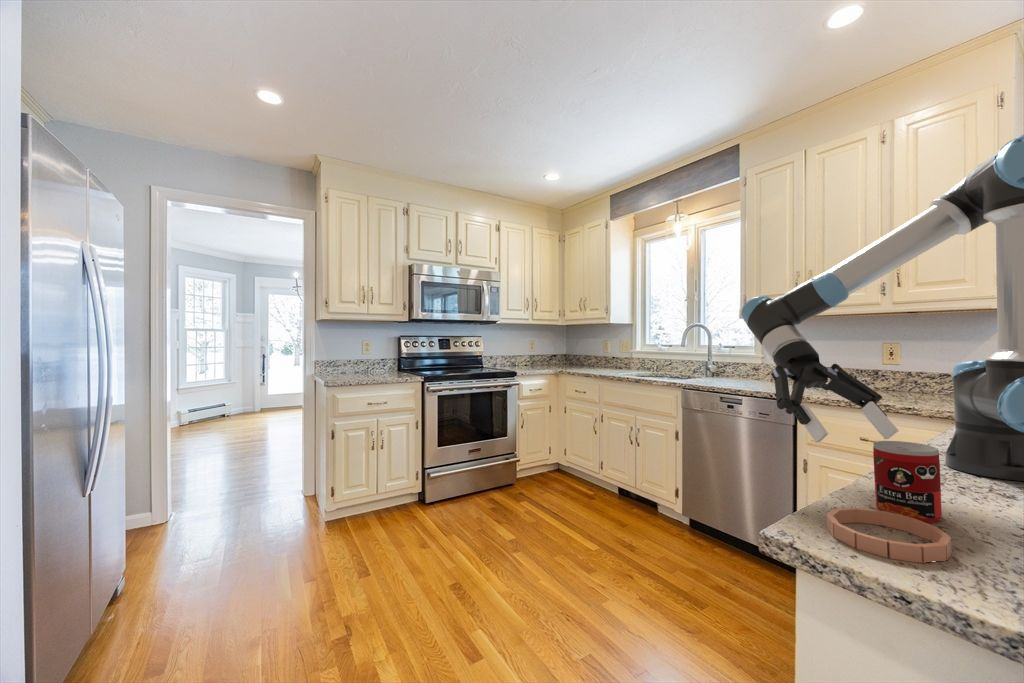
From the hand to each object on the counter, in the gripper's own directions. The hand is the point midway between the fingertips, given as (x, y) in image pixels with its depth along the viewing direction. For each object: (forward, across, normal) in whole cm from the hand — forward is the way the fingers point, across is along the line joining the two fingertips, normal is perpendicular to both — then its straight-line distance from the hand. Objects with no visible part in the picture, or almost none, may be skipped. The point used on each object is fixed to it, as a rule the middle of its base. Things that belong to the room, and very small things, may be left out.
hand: (857, 436), depth 73 cm
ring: (+18, +11, +2) cm, 21 cm away
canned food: (+13, -1, -3) cm, 13 cm away
